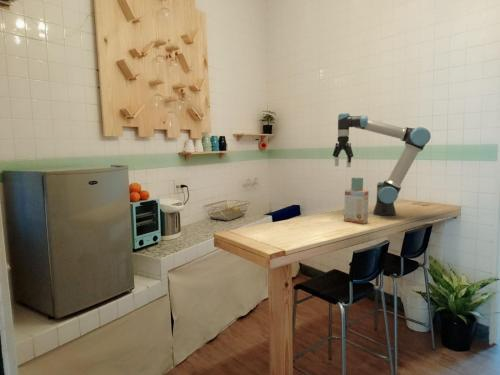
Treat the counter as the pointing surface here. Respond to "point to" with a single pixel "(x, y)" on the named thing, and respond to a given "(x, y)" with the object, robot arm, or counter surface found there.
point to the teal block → (357, 184)
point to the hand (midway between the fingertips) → (342, 166)
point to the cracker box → (356, 206)
